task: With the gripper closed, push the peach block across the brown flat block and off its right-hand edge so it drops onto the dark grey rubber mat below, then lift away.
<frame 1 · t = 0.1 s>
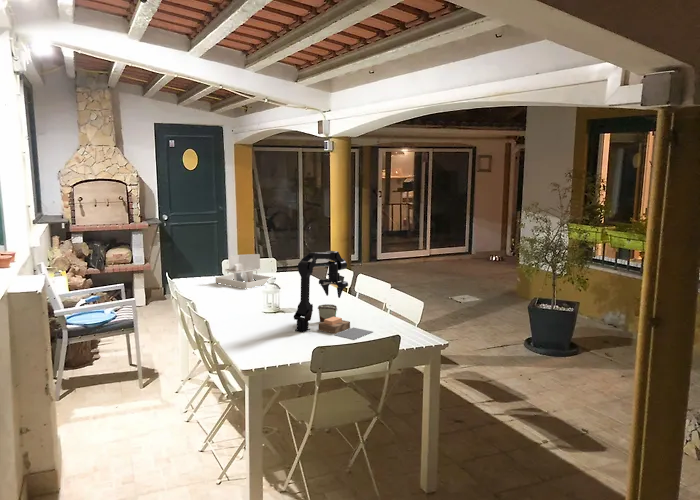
hand: (333, 296, 339), 15 cm above the table, fingers open, 9 cm apart
holder corral: (244, 283, 449), on the table
architectural model: (244, 284, 449), resting in holder corral
brown flat block: (334, 329, 321), on the table
mat: (353, 333, 313), on the table
food container: (329, 321, 338), on the table
peach block: (333, 322, 321), point 4 cm above the table, touching brown flat block
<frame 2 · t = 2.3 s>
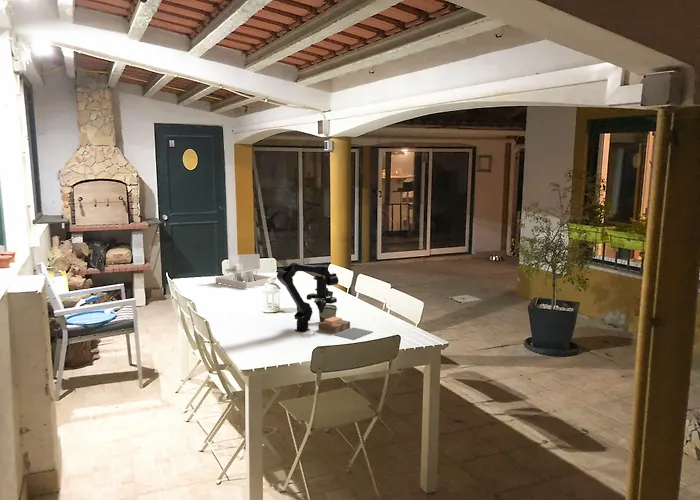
hand: (321, 312, 326), 8 cm above the table, fingers closed
nothing on the table moved.
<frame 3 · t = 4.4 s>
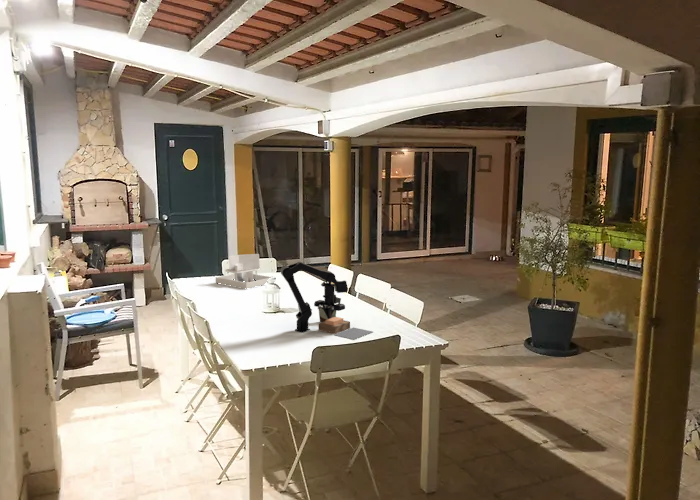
hand: (329, 319, 323), 5 cm above the table, fingers closed
peach block: (334, 322, 321), point 4 cm above the table, touching brown flat block, gripper
everything else where it was.
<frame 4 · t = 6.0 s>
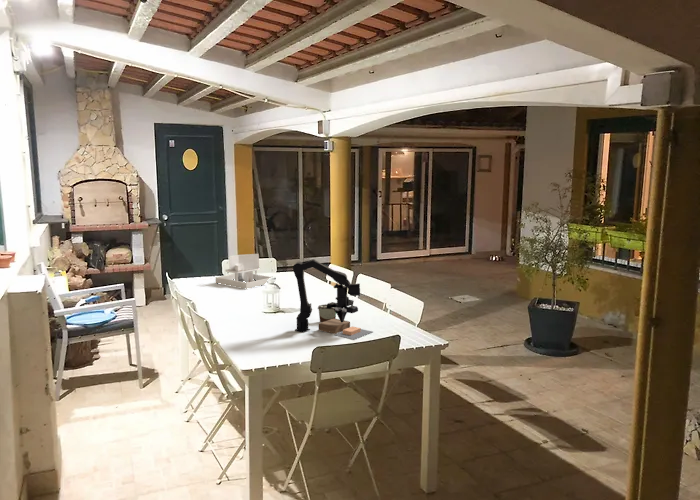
hand: (342, 322, 317), 5 cm above the table, fingers closed
peach block: (351, 329, 314), point 2 cm above the table, tilted 180°, touching mat
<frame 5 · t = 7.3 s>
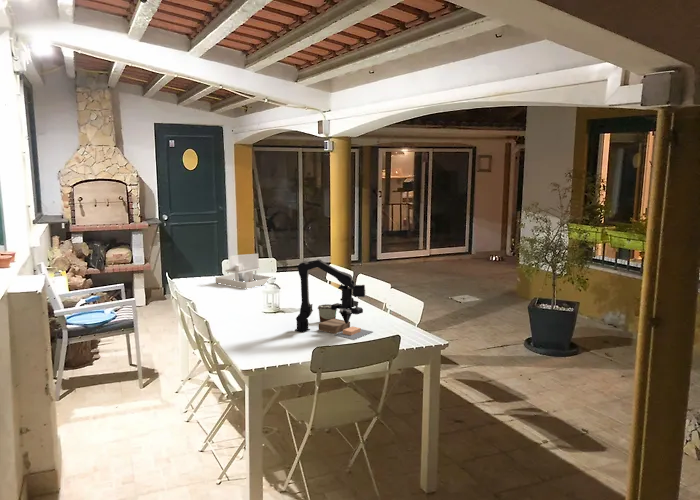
hand: (346, 323, 315), 5 cm above the table, fingers closed
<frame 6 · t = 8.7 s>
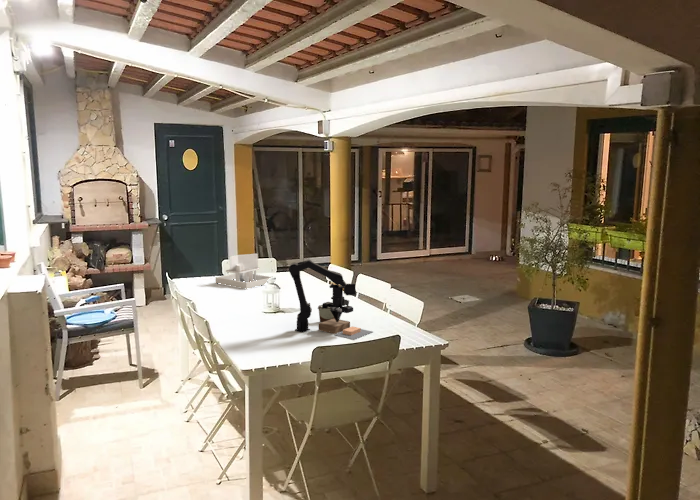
hand: (337, 321, 319), 5 cm above the table, fingers closed
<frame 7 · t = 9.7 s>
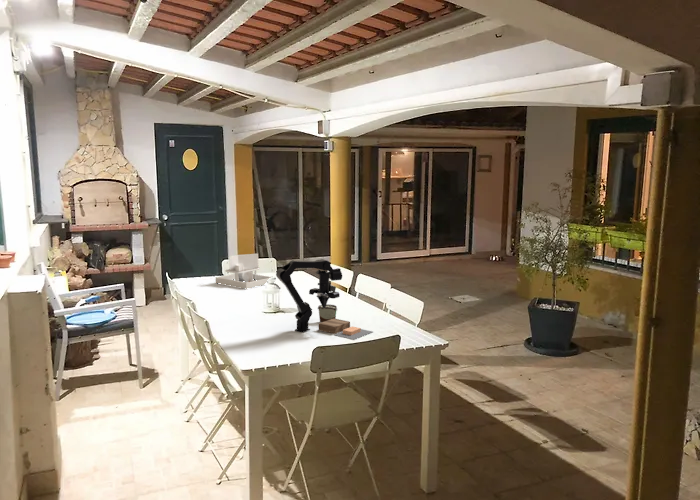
hand: (324, 307, 323), 12 cm above the table, fingers closed
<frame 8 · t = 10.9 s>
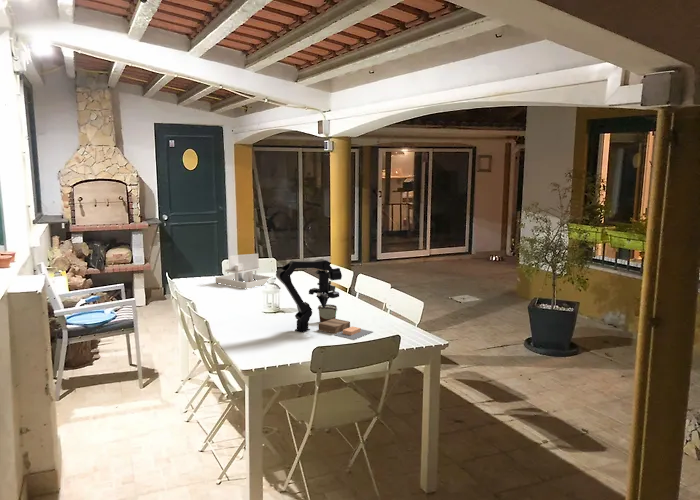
hand: (323, 307, 323), 12 cm above the table, fingers closed
at the end: peach block point 2.3 cm above the table; peach block inside the target area on the mat (1.7 cm from its centre), point 2.3 cm above the mat's base; peach block touching mat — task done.
